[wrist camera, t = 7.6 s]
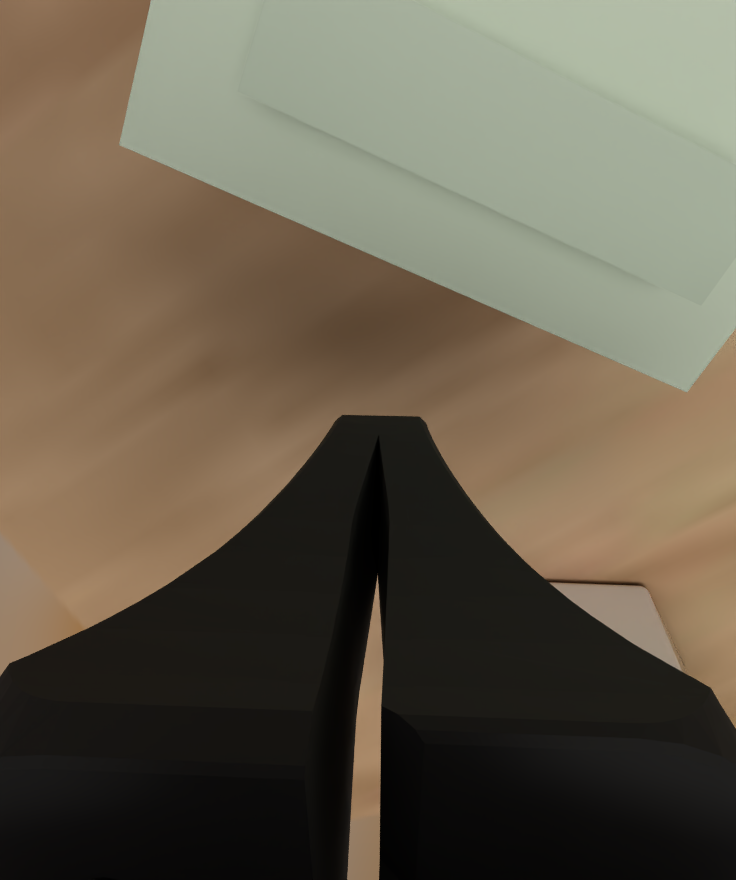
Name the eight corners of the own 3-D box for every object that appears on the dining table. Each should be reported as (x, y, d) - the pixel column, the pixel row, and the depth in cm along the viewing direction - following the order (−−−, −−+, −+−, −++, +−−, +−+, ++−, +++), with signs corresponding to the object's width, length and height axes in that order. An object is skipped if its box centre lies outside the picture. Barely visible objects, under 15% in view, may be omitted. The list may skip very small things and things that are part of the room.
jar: (708, 702, 26) (908, 1159, 16) (502, 762, 28) (557, 1192, 18) (628, 531, 22) (825, 993, 12) (396, 617, 24) (390, 1063, 14)
